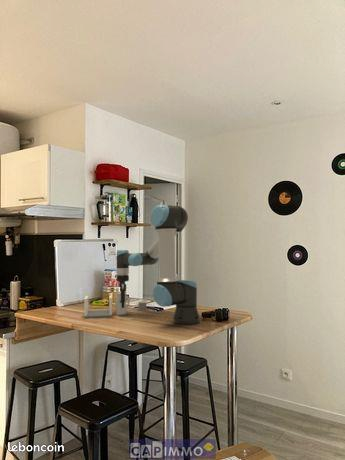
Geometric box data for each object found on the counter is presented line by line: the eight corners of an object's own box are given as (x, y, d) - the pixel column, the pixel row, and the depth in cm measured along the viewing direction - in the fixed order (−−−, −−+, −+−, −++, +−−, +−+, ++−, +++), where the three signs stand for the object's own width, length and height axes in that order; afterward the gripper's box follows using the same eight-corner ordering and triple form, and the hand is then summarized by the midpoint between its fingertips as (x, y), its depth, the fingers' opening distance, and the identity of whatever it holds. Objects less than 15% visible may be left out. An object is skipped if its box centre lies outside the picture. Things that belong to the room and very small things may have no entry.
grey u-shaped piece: (111, 317, 212) (111, 298, 212) (84, 318, 210) (84, 299, 210) (112, 313, 226) (112, 294, 226) (86, 314, 224) (86, 295, 224)
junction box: (146, 310, 234) (146, 302, 234) (138, 310, 233) (138, 303, 234) (145, 308, 240) (145, 301, 240) (138, 309, 239) (138, 301, 240)
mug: (119, 315, 217) (119, 295, 217) (113, 314, 222) (112, 294, 222) (132, 313, 224) (132, 294, 224) (126, 312, 228) (126, 293, 229)
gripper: (116, 273, 232) (116, 309, 231) (116, 276, 212) (116, 315, 212) (128, 273, 233) (128, 308, 232) (129, 276, 214) (129, 314, 213)
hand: (122, 311), depth 222 cm, fingers closed on mug, 7 cm apart
